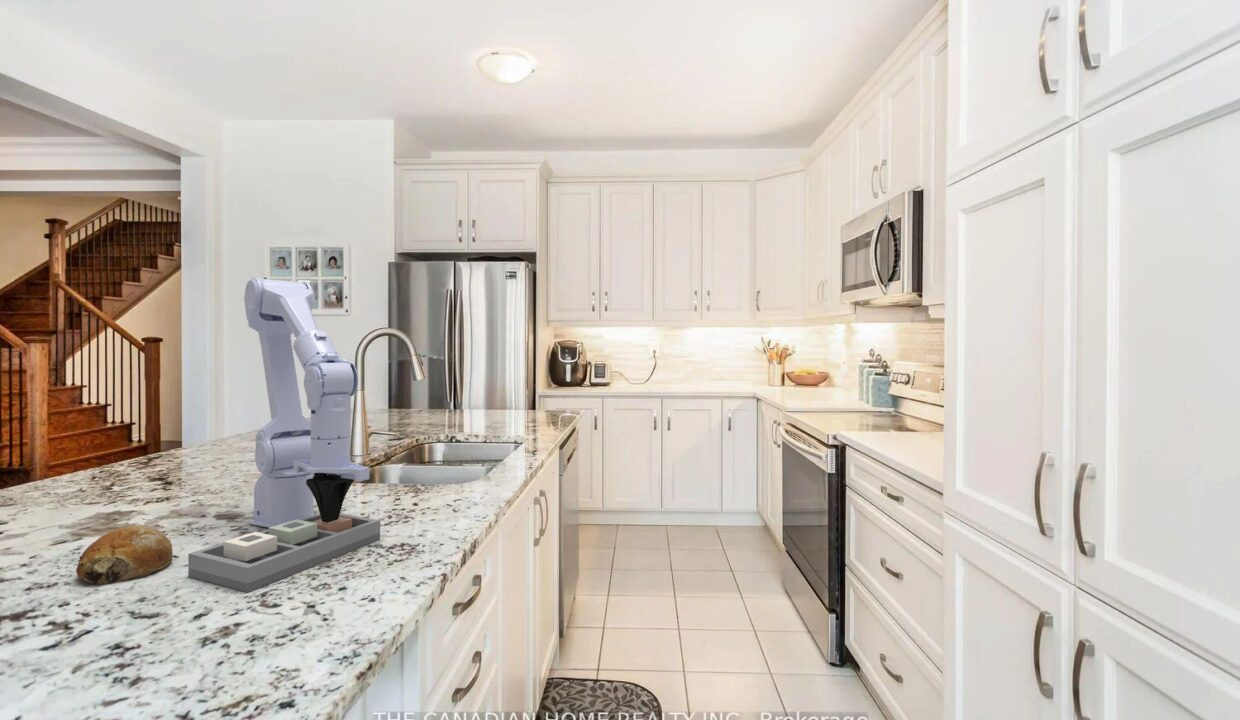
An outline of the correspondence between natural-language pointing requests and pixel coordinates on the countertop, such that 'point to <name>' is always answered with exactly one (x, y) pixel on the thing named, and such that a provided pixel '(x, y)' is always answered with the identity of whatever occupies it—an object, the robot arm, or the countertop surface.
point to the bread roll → (125, 555)
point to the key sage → (294, 531)
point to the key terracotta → (335, 525)
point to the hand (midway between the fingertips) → (330, 520)
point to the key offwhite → (250, 546)
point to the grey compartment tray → (280, 556)
